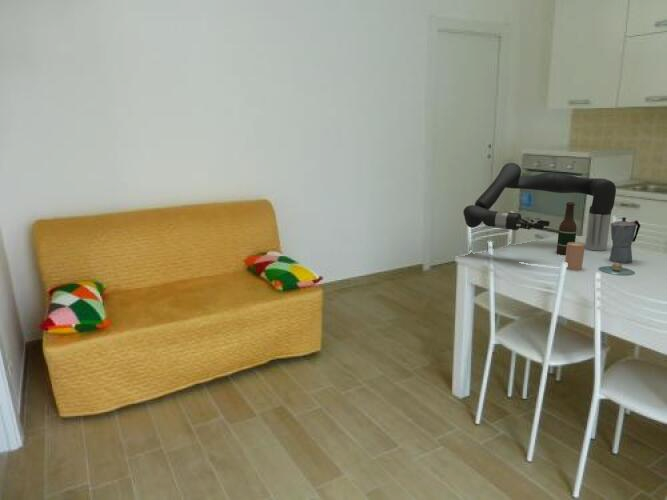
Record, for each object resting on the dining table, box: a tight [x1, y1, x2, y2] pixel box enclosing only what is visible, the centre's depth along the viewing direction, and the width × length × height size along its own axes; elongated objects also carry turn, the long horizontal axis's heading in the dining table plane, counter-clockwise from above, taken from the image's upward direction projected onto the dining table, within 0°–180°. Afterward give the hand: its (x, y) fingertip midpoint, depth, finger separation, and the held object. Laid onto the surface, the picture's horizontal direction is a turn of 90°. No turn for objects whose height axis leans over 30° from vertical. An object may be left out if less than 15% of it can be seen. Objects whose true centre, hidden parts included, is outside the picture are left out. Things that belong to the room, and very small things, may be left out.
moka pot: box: [608, 216, 641, 265], centre depth 211 cm, size 10×15×20 cm, turn 111°
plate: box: [598, 265, 636, 277], centre depth 200 cm, size 13×13×1 cm
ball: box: [611, 262, 623, 271], centre depth 199 cm, size 3×3×3 cm
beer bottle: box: [556, 201, 578, 256], centre depth 225 cm, size 8×8×24 cm
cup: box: [564, 241, 585, 271], centre depth 203 cm, size 6×6×11 cm
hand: (546, 225), depth 207 cm, fingers open, 8 cm apart
